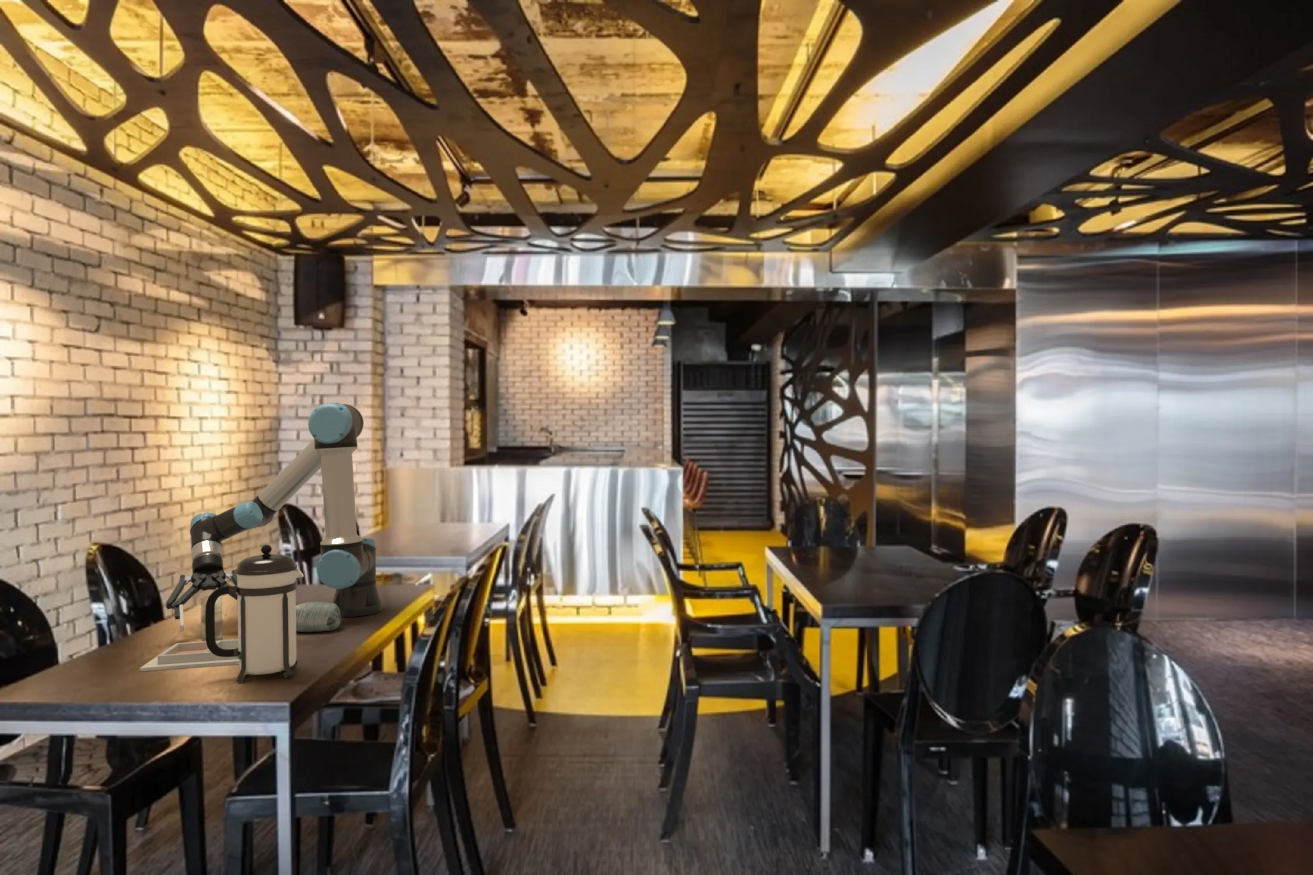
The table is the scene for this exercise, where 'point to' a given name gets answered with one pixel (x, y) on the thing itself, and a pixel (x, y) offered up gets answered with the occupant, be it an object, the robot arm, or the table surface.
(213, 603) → the coffee press
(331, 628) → the yarn ball
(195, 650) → the white flat tray
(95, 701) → the table surface
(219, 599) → the peg
